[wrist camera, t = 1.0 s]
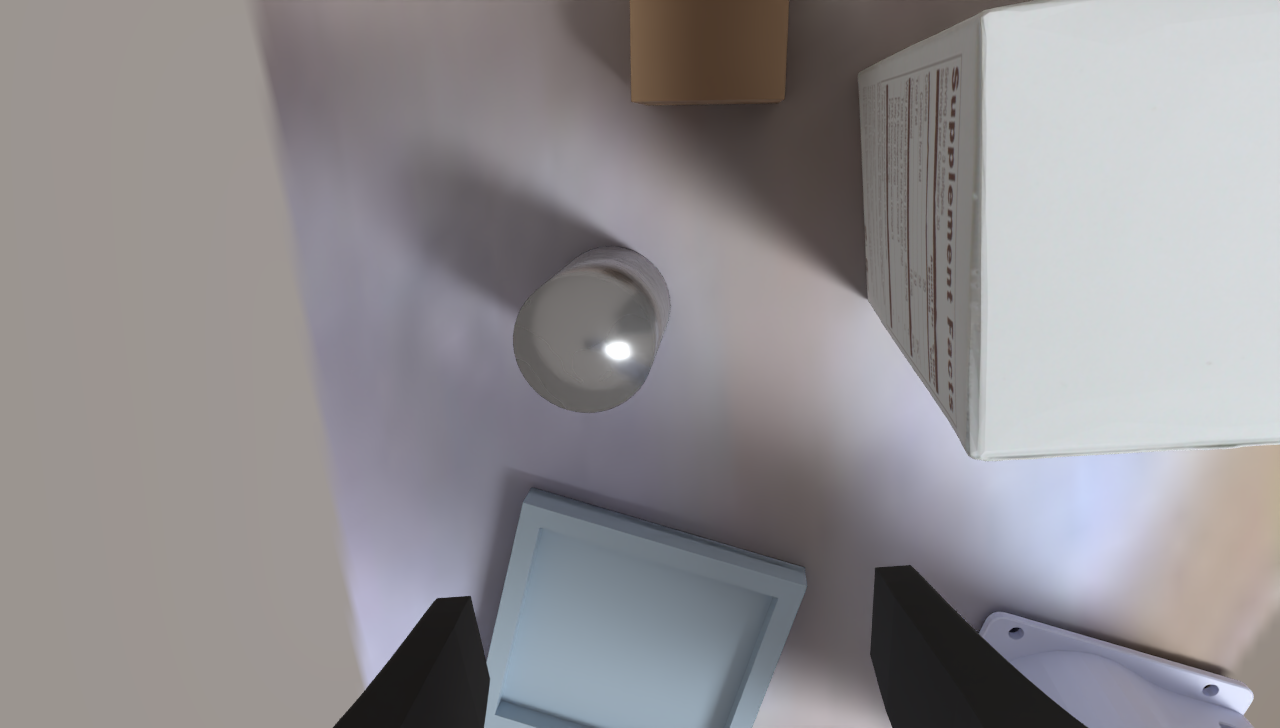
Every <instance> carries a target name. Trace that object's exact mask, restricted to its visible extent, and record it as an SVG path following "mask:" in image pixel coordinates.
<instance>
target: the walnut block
mask: <svg viewBox="0 0 1280 728" xmlns="http://www.w3.org/2000/svg"><path fill="white" fill-rule="evenodd" d="M788 14H789V0H630V53H631V102H635V103H640V104H644V105H707V104H769V103H779V102H781V101H782V100H784V99H785V81H786V59H787V36H788Z"/></svg>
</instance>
